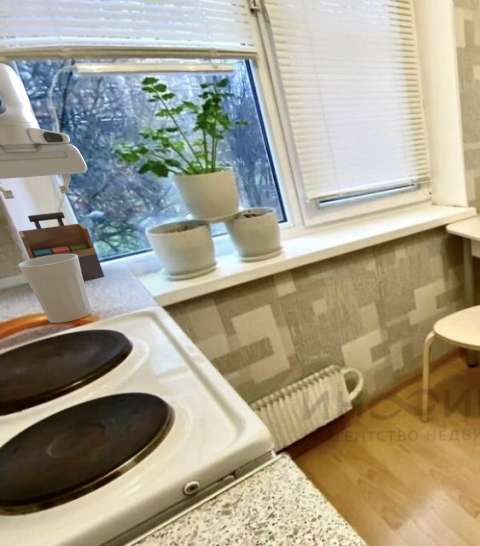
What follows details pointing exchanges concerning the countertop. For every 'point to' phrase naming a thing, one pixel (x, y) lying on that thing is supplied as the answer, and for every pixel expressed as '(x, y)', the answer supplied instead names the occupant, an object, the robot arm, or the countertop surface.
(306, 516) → the countertop surface
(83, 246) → the packet right
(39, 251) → the packet left
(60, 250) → the packet middle
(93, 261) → the basket stand
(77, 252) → the basket
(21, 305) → the countertop surface
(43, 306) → the cup
